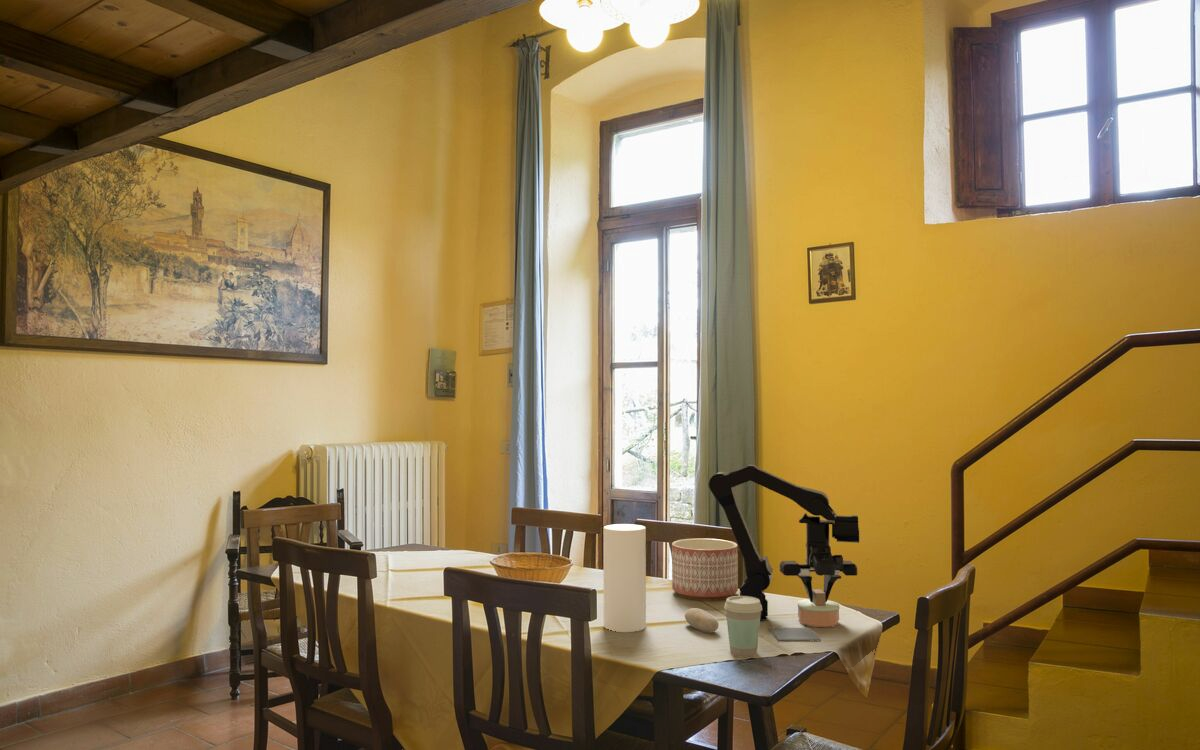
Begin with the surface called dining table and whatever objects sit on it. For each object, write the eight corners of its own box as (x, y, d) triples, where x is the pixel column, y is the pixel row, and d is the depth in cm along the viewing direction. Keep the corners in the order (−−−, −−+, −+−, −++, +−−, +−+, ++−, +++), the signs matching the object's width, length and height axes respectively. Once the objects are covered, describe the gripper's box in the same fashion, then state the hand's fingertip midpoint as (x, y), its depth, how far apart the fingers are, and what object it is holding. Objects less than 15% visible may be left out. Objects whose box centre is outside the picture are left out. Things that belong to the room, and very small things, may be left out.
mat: (778, 641, 193) (778, 639, 193) (769, 629, 203) (769, 627, 203) (820, 641, 193) (820, 639, 193) (809, 629, 203) (809, 627, 203)
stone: (697, 611, 210) (726, 607, 201) (695, 636, 208) (724, 633, 198) (679, 606, 208) (708, 602, 198) (676, 631, 205) (706, 629, 196)
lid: (803, 612, 204) (803, 596, 204) (793, 601, 214) (793, 586, 214) (844, 612, 204) (844, 596, 204) (832, 601, 214) (832, 586, 215)
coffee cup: (754, 646, 189) (754, 594, 189) (768, 658, 180) (768, 603, 181) (719, 648, 187) (719, 596, 188) (731, 660, 179) (731, 605, 179)
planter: (678, 585, 252) (678, 537, 252) (741, 589, 246) (740, 539, 247) (666, 599, 233) (666, 547, 234) (734, 604, 228) (733, 551, 228)
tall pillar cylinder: (648, 631, 201) (648, 530, 201) (605, 632, 200) (605, 530, 201) (643, 620, 211) (642, 523, 212) (602, 621, 211) (602, 524, 211)
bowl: (804, 627, 204) (804, 611, 204) (794, 617, 214) (794, 602, 214) (843, 627, 204) (843, 611, 204) (832, 617, 214) (831, 602, 214)
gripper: (789, 546, 202) (789, 609, 201) (864, 546, 202) (865, 609, 201) (779, 538, 213) (779, 598, 212) (850, 538, 213) (850, 598, 212)
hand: (818, 601), depth 209 cm, fingers open, 3 cm apart
